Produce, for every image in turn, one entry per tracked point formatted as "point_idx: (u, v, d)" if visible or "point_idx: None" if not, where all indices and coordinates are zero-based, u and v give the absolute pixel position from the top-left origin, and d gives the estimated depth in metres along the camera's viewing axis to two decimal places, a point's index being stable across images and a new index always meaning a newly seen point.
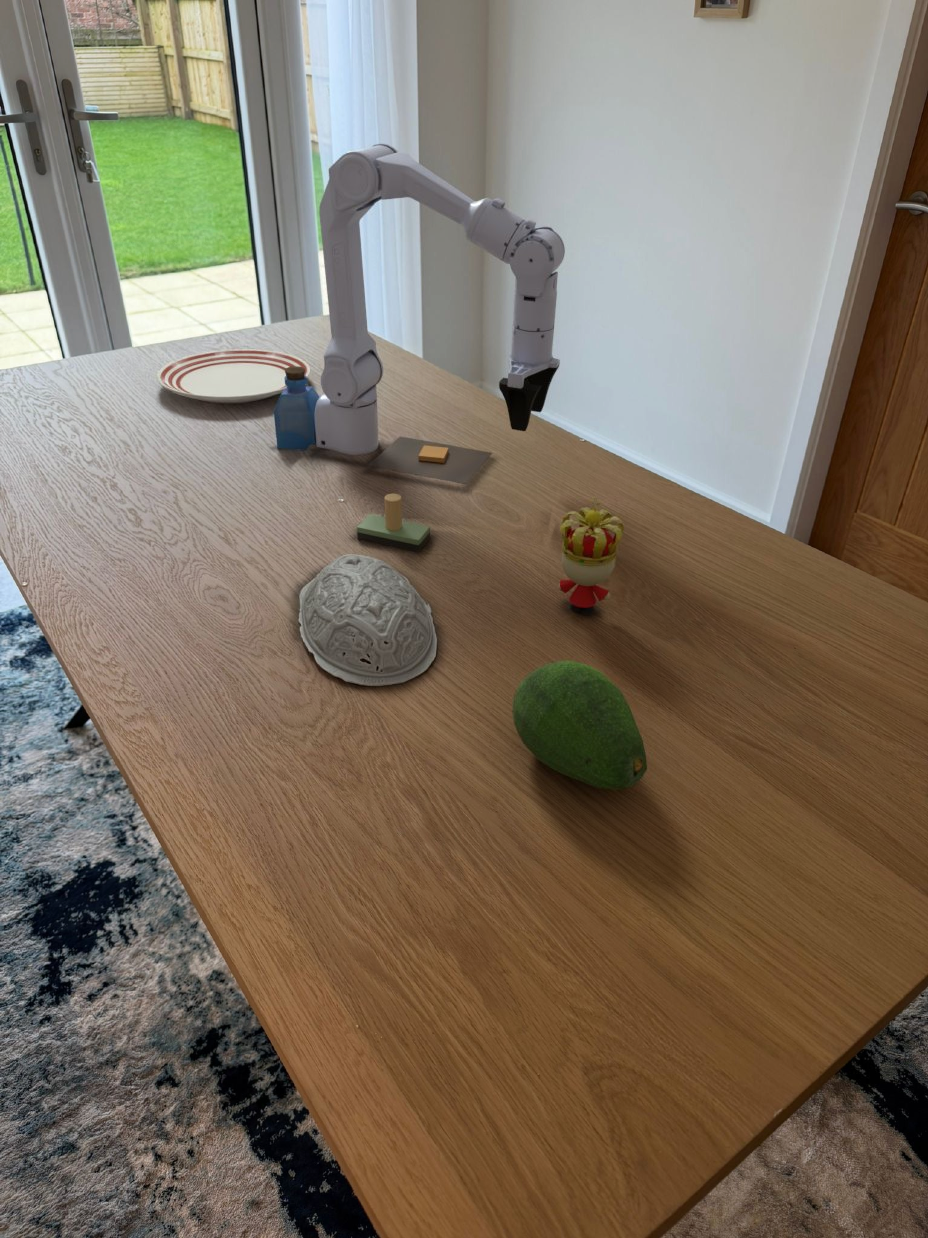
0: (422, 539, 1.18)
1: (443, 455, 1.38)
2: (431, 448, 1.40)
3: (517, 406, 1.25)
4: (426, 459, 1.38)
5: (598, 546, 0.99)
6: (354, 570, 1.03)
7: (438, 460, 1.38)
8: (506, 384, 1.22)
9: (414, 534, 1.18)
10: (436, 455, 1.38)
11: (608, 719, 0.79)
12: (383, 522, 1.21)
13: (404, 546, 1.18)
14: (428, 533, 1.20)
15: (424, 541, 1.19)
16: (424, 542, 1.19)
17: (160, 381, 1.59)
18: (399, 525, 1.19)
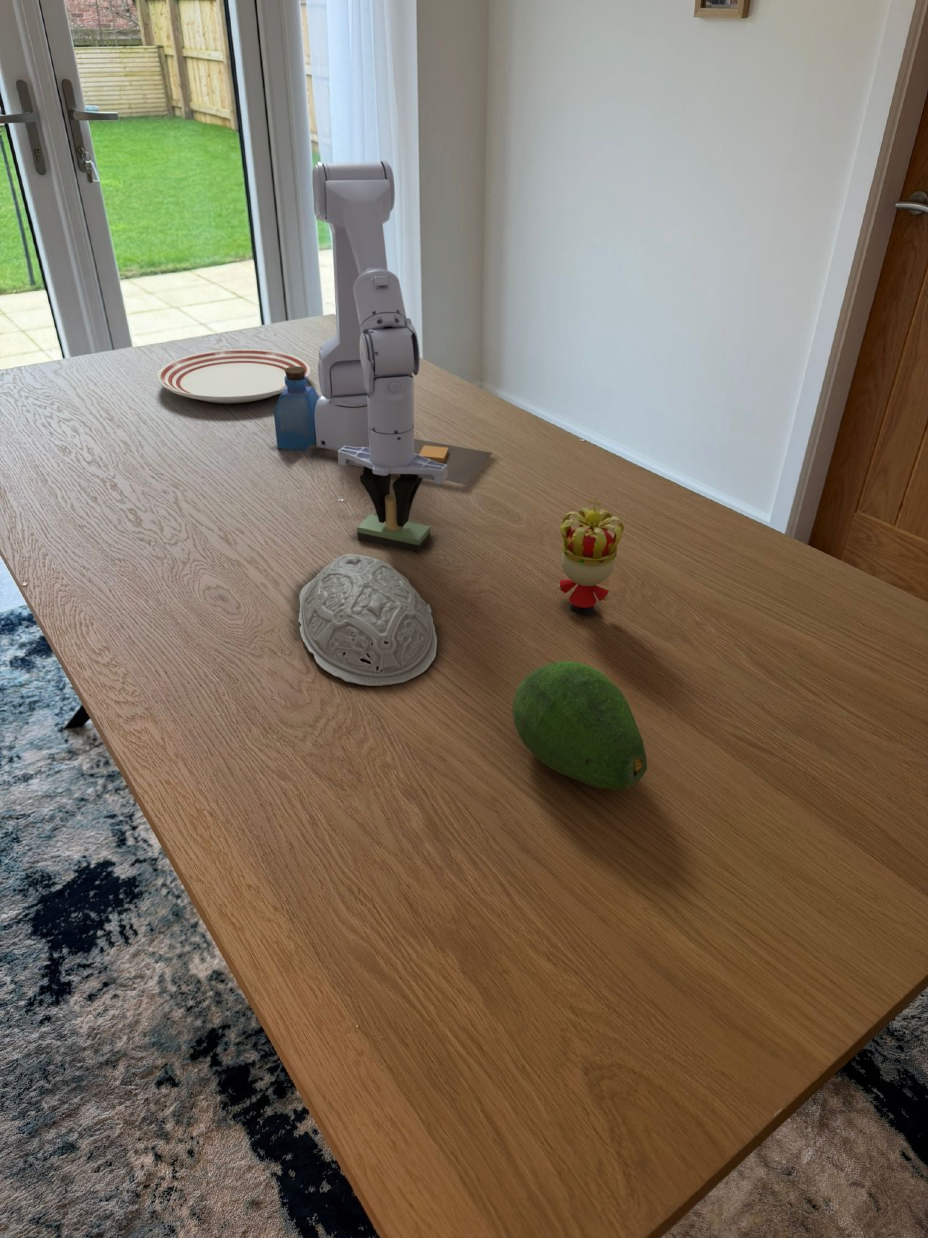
0: (422, 539, 1.18)
1: (443, 455, 1.38)
2: (431, 448, 1.40)
3: None
4: None
5: (598, 546, 0.99)
6: (354, 570, 1.03)
7: (438, 460, 1.38)
8: None
9: (414, 534, 1.18)
10: (436, 455, 1.38)
11: (608, 719, 0.79)
12: None
13: (404, 546, 1.18)
14: (428, 533, 1.20)
15: (424, 541, 1.19)
16: (424, 542, 1.19)
17: (160, 381, 1.59)
18: None
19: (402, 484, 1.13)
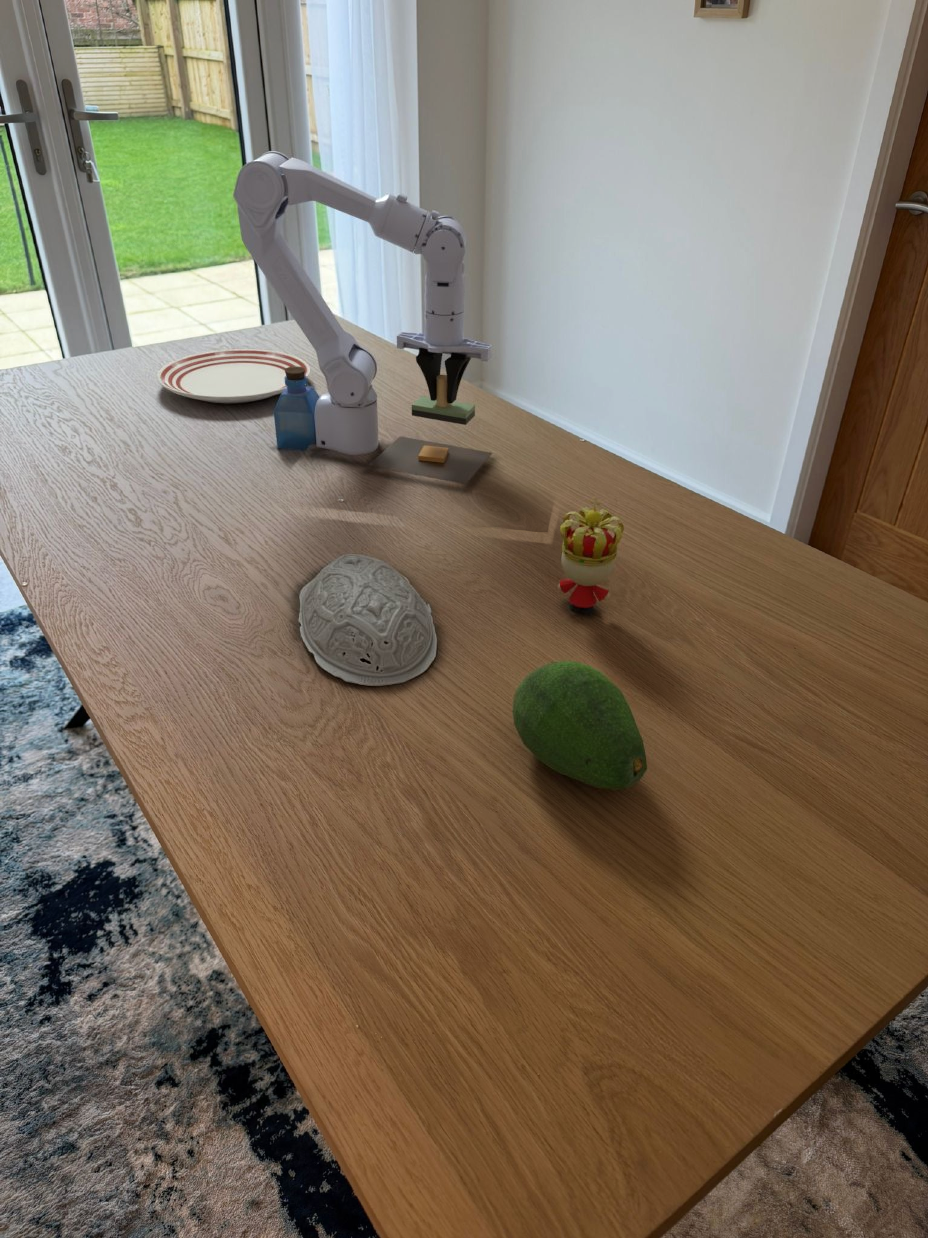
0: (468, 414, 1.36)
1: (443, 455, 1.38)
2: (431, 448, 1.40)
3: None
4: (426, 459, 1.38)
5: (598, 546, 0.99)
6: (354, 570, 1.03)
7: (438, 460, 1.38)
8: None
9: (462, 410, 1.36)
10: (436, 455, 1.38)
11: (608, 719, 0.79)
12: (434, 401, 1.39)
13: (453, 420, 1.36)
14: (473, 410, 1.38)
15: (470, 416, 1.37)
16: (470, 418, 1.37)
17: (160, 381, 1.59)
18: None
19: (453, 361, 1.31)
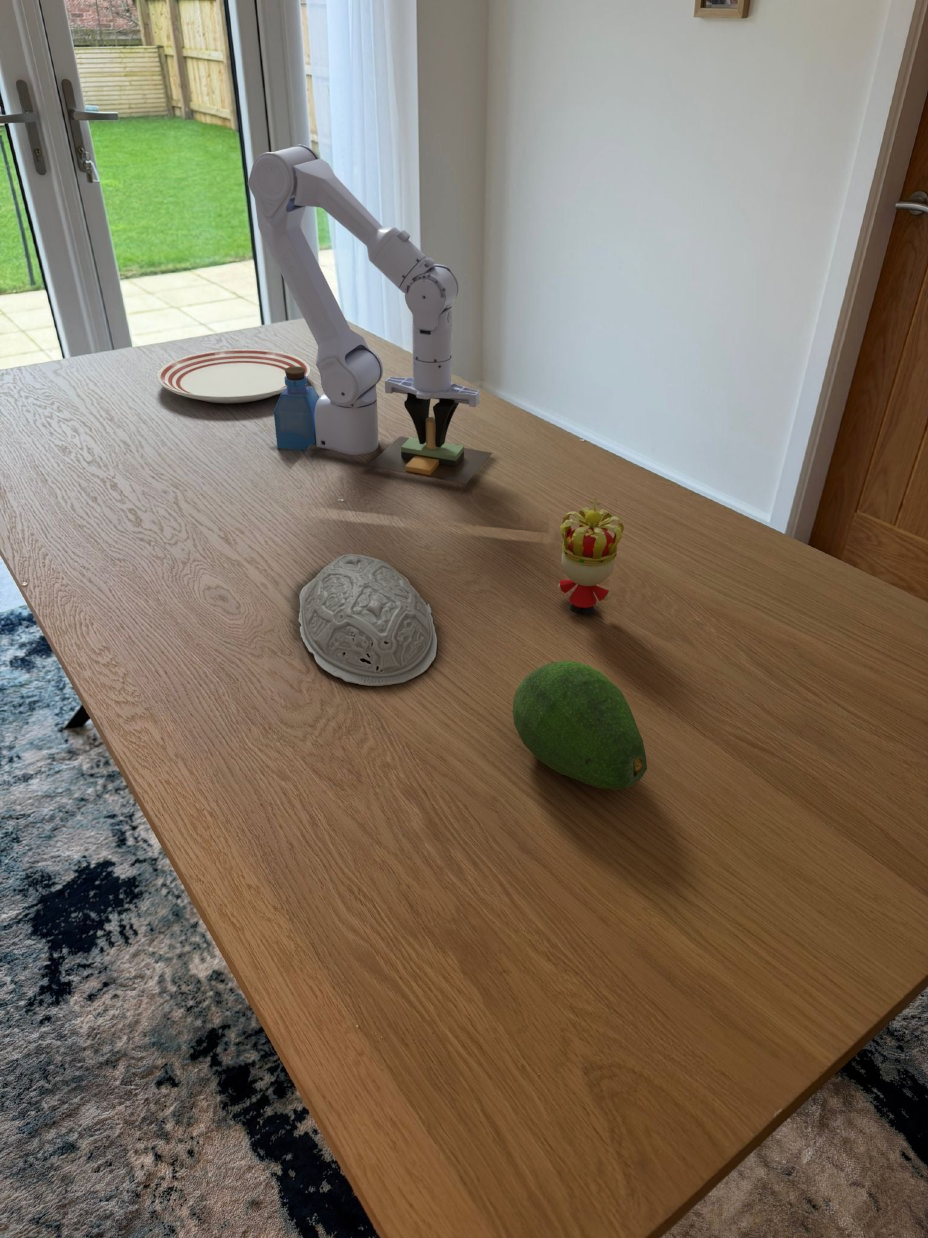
0: (458, 455, 1.37)
1: (430, 467, 1.35)
2: (421, 459, 1.37)
3: None
4: (413, 470, 1.35)
5: (598, 546, 0.99)
6: (354, 570, 1.03)
7: (424, 472, 1.34)
8: None
9: (451, 451, 1.37)
10: (423, 467, 1.35)
11: (608, 719, 0.79)
12: None
13: (443, 462, 1.37)
14: (462, 451, 1.39)
15: (459, 458, 1.38)
16: (459, 459, 1.38)
17: (160, 381, 1.59)
18: None
19: (441, 407, 1.31)
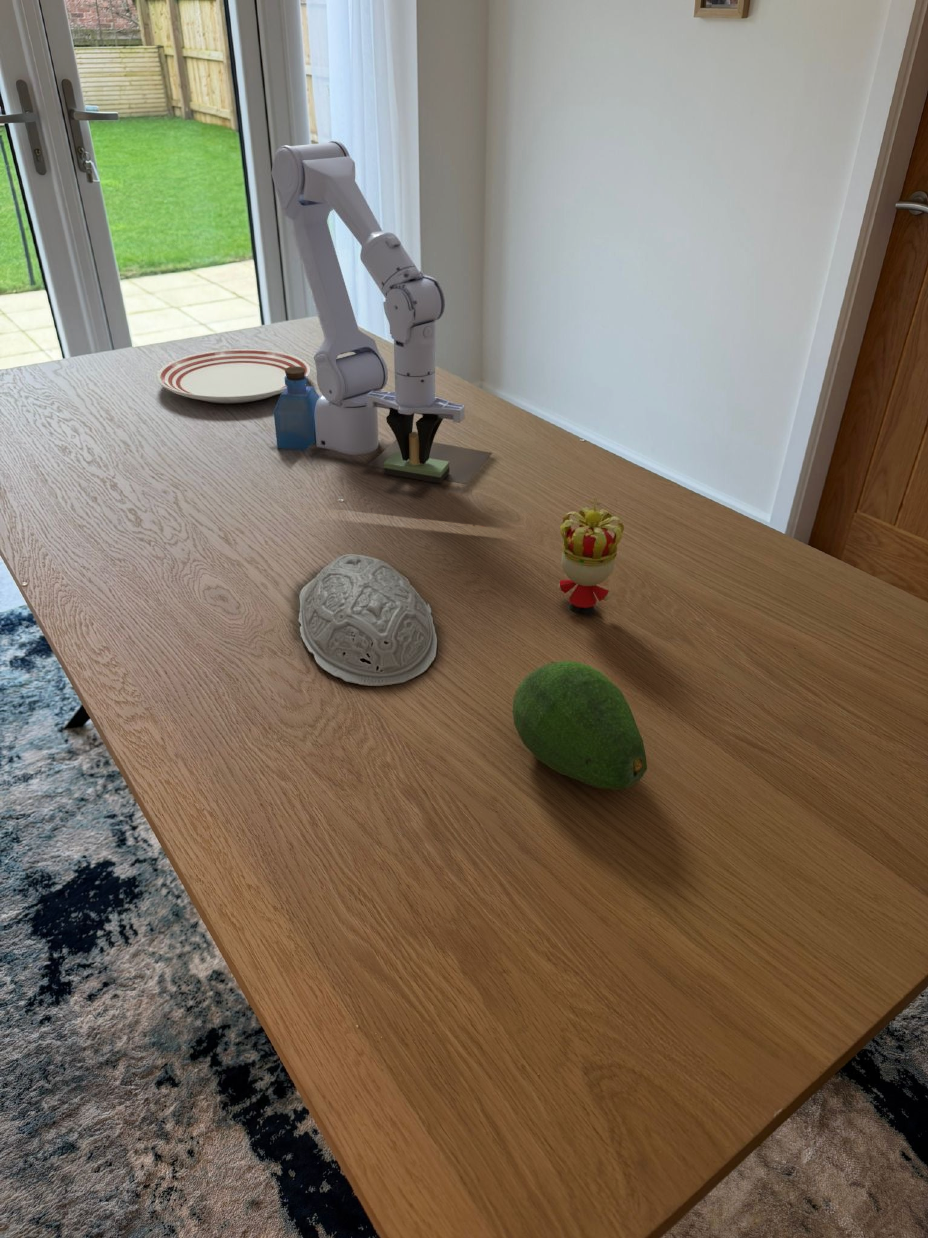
0: (443, 472, 1.32)
1: None
2: None
3: None
4: None
5: (598, 546, 0.99)
6: (354, 570, 1.03)
7: None
8: None
9: (436, 468, 1.32)
10: None
11: (608, 719, 0.79)
12: None
13: (427, 479, 1.32)
14: (448, 467, 1.34)
15: (444, 474, 1.33)
16: (444, 475, 1.33)
17: (160, 381, 1.59)
18: None
19: (424, 422, 1.26)
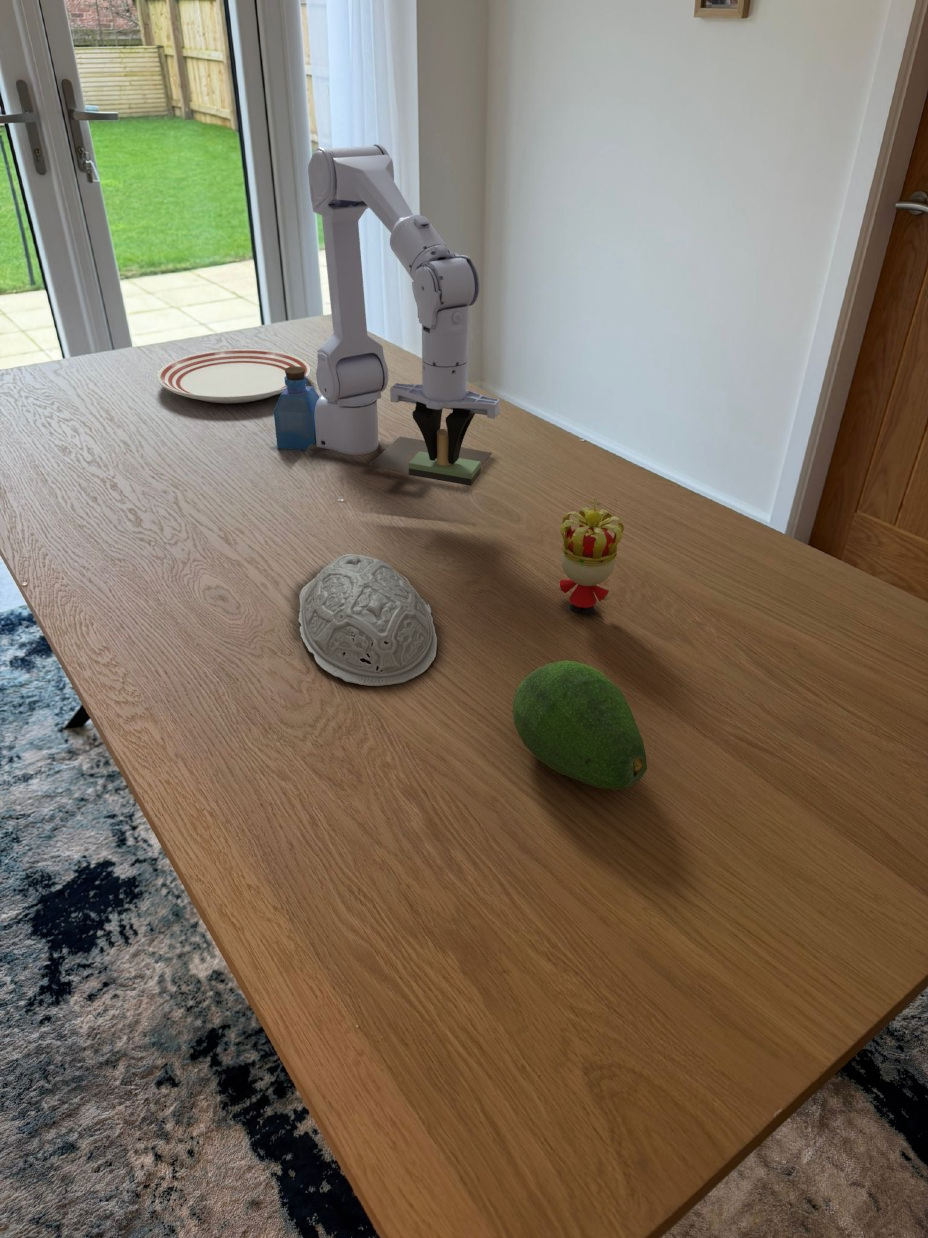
0: (474, 473, 1.19)
1: None
2: None
3: None
4: None
5: (598, 546, 0.99)
6: (354, 570, 1.03)
7: None
8: None
9: (466, 468, 1.19)
10: None
11: (608, 719, 0.79)
12: None
13: (456, 480, 1.20)
14: (479, 468, 1.21)
15: (475, 475, 1.20)
16: (475, 477, 1.20)
17: (160, 381, 1.59)
18: None
19: (455, 418, 1.14)
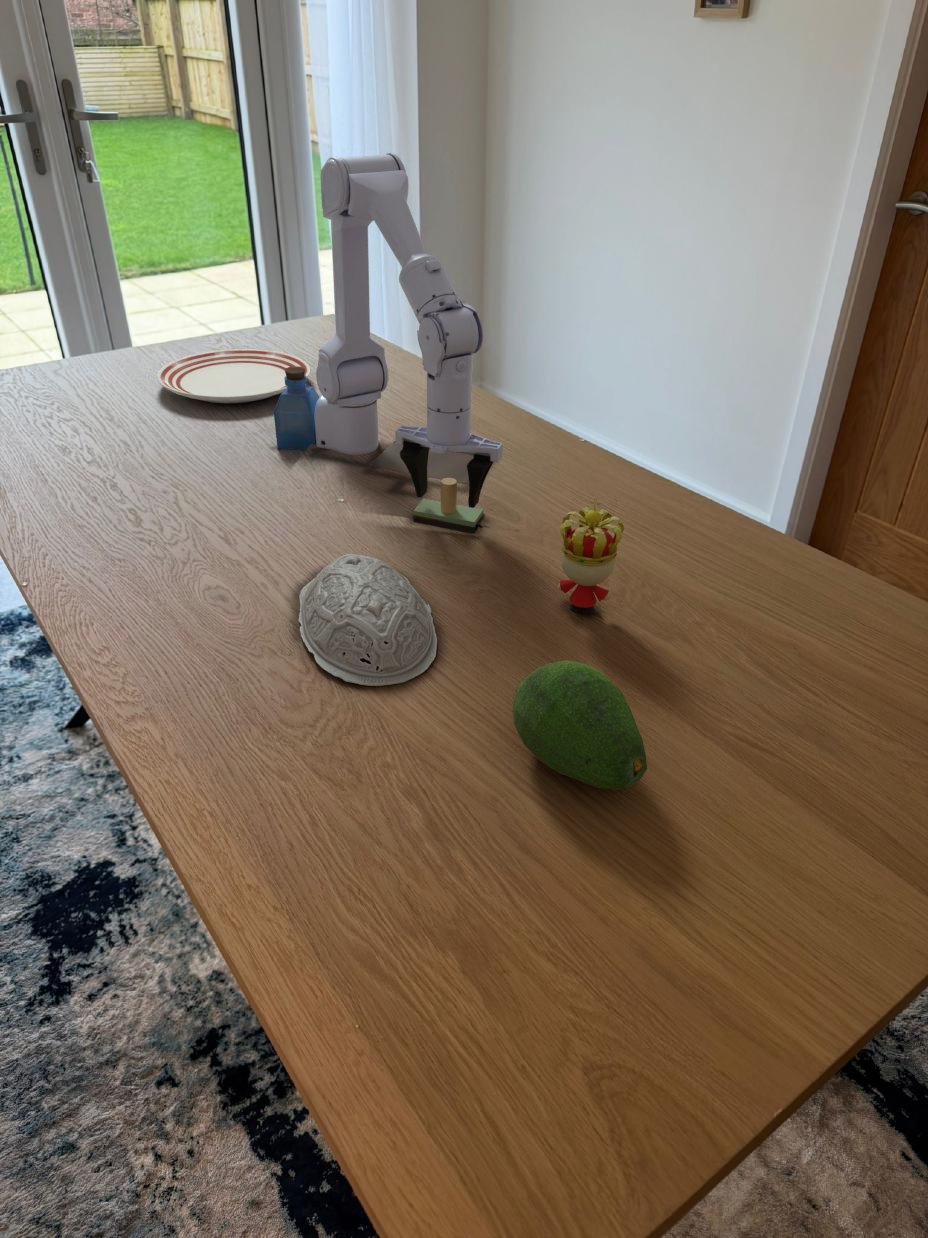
0: (477, 521, 1.23)
1: None
2: None
3: None
4: None
5: (598, 546, 0.99)
6: (354, 570, 1.03)
7: None
8: None
9: (469, 516, 1.23)
10: None
11: (608, 719, 0.79)
12: (438, 506, 1.25)
13: (460, 528, 1.23)
14: None
15: None
16: None
17: (160, 381, 1.59)
18: (454, 508, 1.23)
19: (476, 465, 1.15)
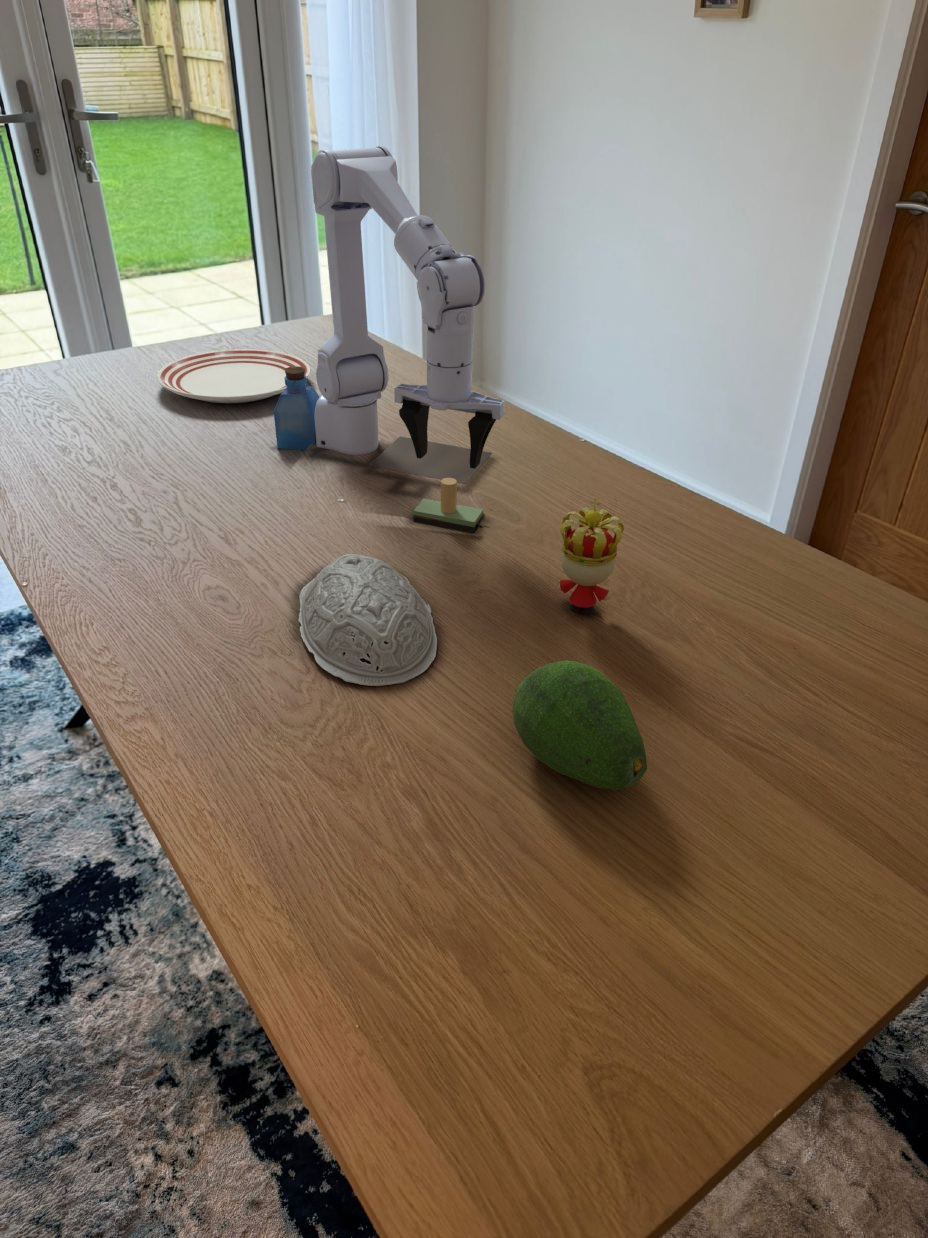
0: (477, 521, 1.23)
1: None
2: None
3: None
4: None
5: (598, 546, 0.99)
6: (354, 570, 1.03)
7: None
8: None
9: (469, 516, 1.23)
10: None
11: (608, 719, 0.79)
12: (438, 506, 1.25)
13: (460, 528, 1.23)
14: None
15: None
16: None
17: (160, 381, 1.59)
18: (454, 508, 1.23)
19: (478, 422, 1.12)
